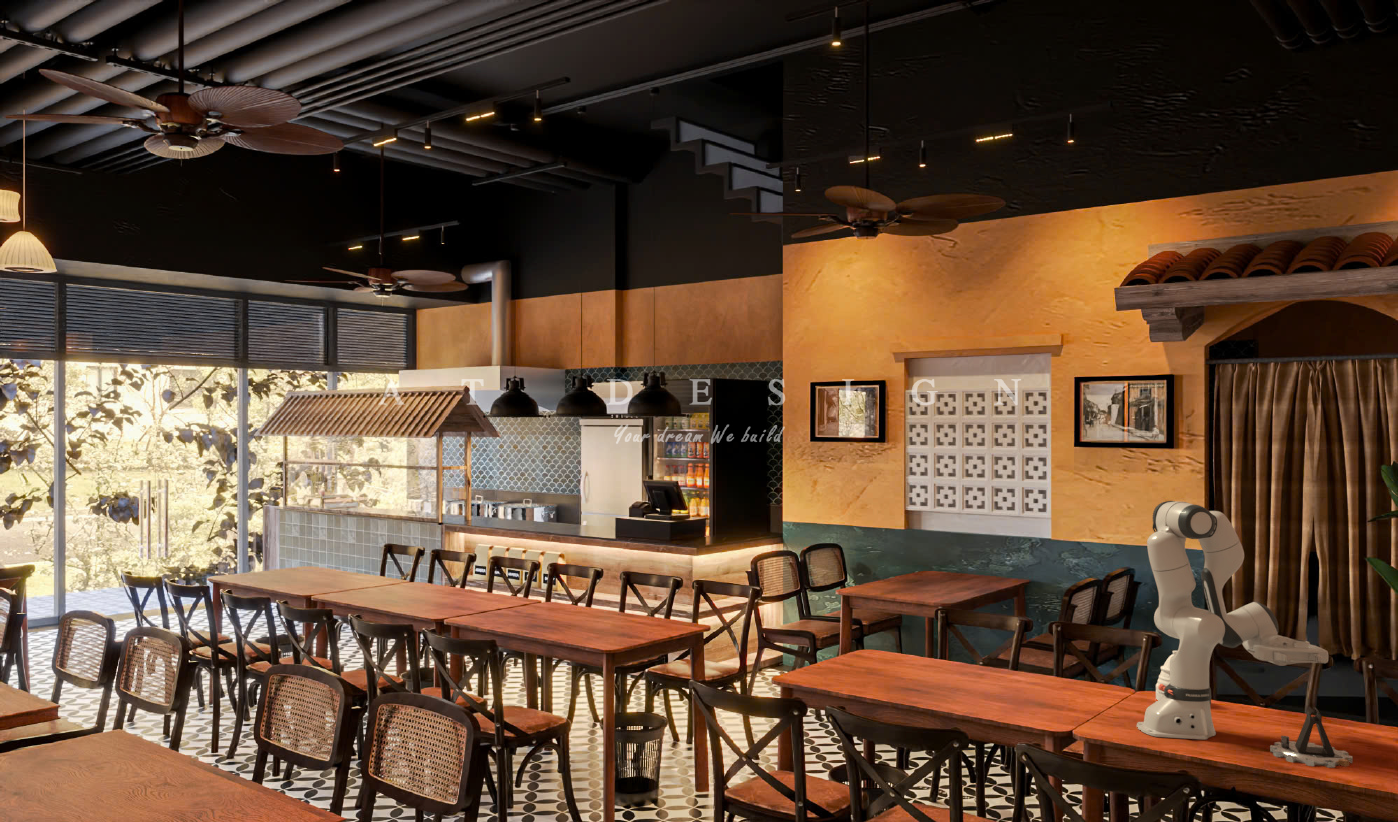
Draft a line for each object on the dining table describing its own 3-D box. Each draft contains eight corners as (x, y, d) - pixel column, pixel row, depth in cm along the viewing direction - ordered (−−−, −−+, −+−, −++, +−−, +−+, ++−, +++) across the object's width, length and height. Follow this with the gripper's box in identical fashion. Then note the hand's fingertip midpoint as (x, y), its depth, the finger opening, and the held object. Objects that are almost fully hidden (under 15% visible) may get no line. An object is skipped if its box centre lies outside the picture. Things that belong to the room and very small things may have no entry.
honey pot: (1201, 707, 348) (1200, 654, 348) (1160, 705, 350) (1159, 652, 351) (1190, 698, 360) (1189, 647, 361) (1151, 696, 363) (1151, 645, 363)
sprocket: (1294, 767, 282) (1294, 750, 282) (1256, 745, 302) (1256, 730, 302) (1368, 768, 281) (1368, 751, 282) (1325, 746, 302) (1325, 731, 302)
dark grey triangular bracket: (1298, 752, 290) (1297, 709, 291) (1295, 746, 296) (1294, 705, 296) (1334, 756, 287) (1334, 713, 287) (1330, 750, 292) (1330, 708, 293)
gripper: (1244, 638, 313) (1268, 647, 299) (1312, 641, 312) (1339, 649, 298) (1244, 659, 312) (1268, 668, 299) (1312, 661, 312) (1339, 671, 298)
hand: (1304, 659), depth 298 cm, fingers open, 8 cm apart
